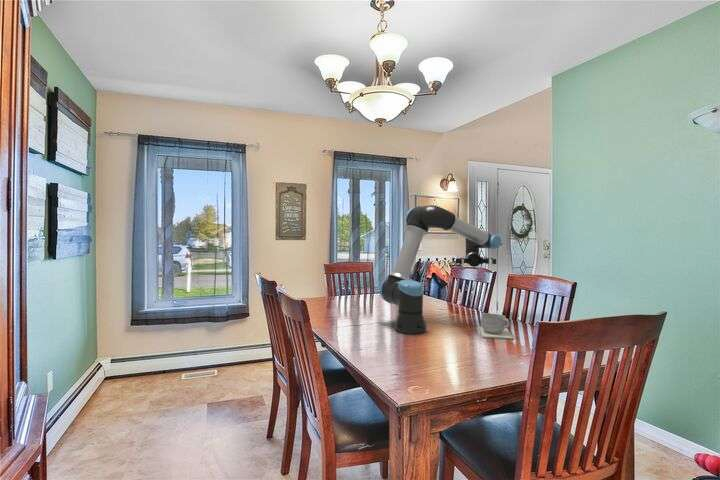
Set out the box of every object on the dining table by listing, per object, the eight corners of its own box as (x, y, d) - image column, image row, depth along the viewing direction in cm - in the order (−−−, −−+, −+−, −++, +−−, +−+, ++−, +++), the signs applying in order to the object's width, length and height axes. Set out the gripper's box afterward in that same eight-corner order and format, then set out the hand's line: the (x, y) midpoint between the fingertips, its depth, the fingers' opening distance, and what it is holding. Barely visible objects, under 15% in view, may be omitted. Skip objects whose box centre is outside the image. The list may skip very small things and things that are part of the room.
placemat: (482, 338, 166) (482, 336, 166) (478, 327, 185) (478, 326, 185) (513, 339, 164) (513, 338, 164) (506, 328, 182) (506, 327, 182)
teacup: (476, 330, 178) (476, 313, 178) (495, 328, 181) (495, 311, 181) (496, 337, 165) (496, 319, 164) (516, 335, 168) (516, 317, 168)
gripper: (497, 266, 205) (503, 270, 185) (450, 265, 211) (451, 269, 190) (497, 253, 205) (503, 255, 184) (450, 252, 211) (451, 254, 190)
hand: (477, 262), depth 187 cm, fingers open, 13 cm apart
